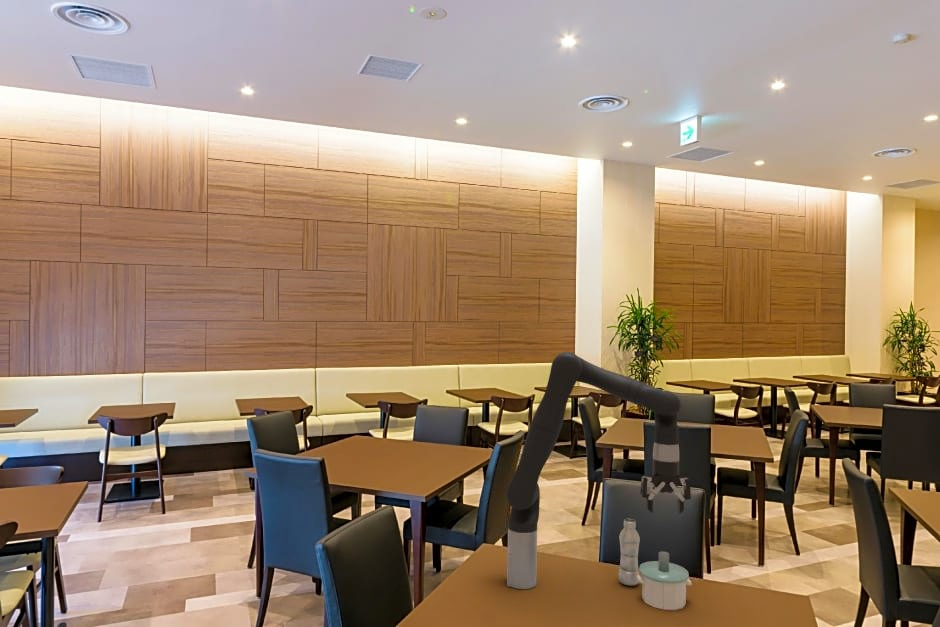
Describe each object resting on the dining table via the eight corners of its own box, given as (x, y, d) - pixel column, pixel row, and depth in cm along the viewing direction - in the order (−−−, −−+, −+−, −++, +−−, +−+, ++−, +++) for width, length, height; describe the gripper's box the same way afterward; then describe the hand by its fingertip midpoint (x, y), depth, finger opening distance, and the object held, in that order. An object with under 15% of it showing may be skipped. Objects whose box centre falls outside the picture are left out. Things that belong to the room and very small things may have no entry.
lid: (644, 582, 175) (645, 561, 176) (635, 563, 189) (635, 543, 190) (694, 584, 174) (694, 563, 175) (681, 565, 188) (681, 545, 189)
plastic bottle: (637, 580, 196) (638, 517, 197) (641, 589, 190) (642, 524, 190) (616, 579, 197) (617, 516, 197) (620, 587, 190) (620, 523, 191)
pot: (642, 608, 176) (642, 580, 176) (633, 590, 188) (633, 564, 188) (696, 610, 175) (696, 582, 176) (683, 592, 187) (683, 566, 188)
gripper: (644, 459, 179) (643, 515, 179) (694, 461, 179) (693, 517, 178) (639, 454, 187) (638, 507, 186) (686, 456, 186) (685, 509, 186)
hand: (665, 512), depth 182 cm, fingers open, 8 cm apart
